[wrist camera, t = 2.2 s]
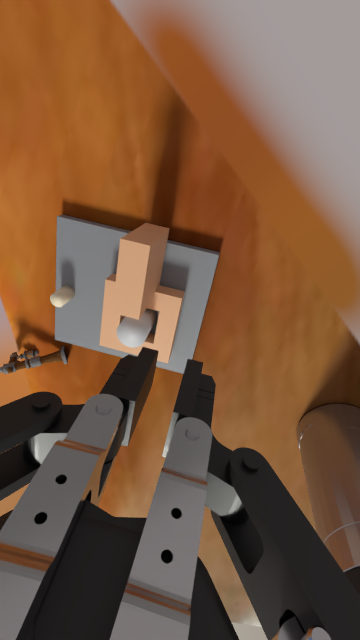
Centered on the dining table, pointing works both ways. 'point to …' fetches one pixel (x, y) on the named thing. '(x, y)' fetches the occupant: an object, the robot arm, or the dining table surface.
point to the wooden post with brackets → (32, 360)
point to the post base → (101, 261)
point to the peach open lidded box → (141, 292)
